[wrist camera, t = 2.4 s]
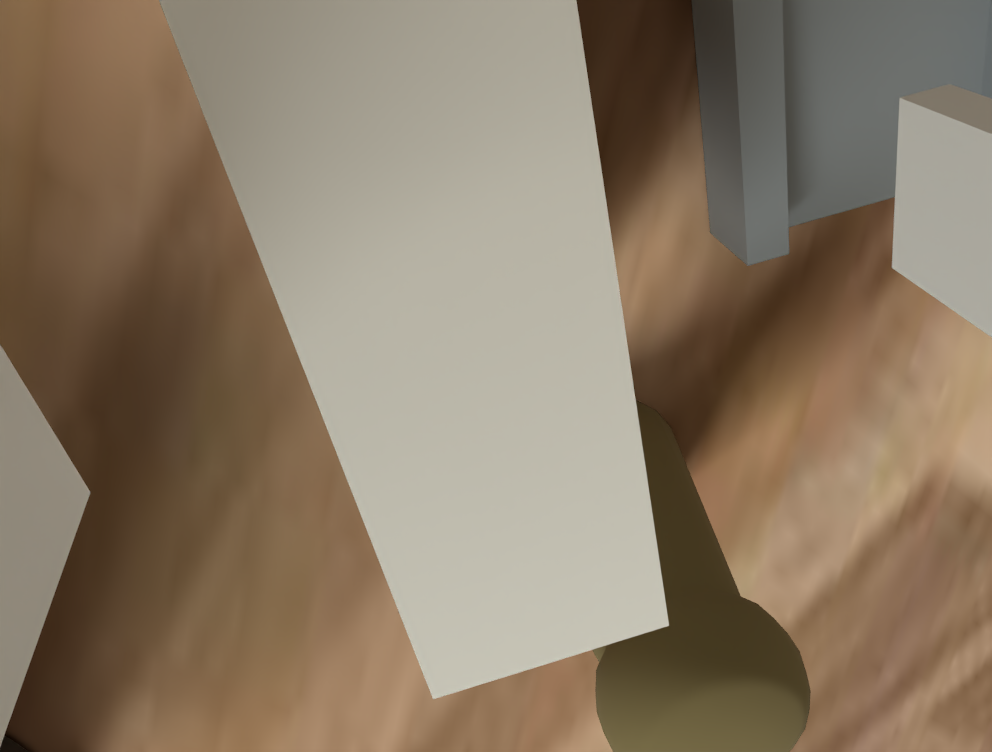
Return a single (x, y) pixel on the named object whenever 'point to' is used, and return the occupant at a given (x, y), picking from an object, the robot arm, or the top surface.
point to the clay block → (448, 305)
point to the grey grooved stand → (818, 103)
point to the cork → (698, 640)
